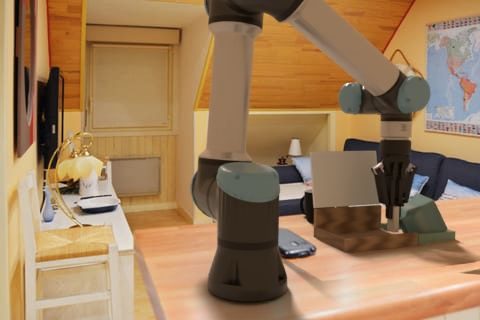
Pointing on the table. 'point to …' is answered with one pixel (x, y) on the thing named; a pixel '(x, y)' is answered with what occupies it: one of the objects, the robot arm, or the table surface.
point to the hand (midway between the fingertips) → (392, 231)
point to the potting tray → (430, 236)
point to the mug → (308, 205)
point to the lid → (343, 178)
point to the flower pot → (421, 216)
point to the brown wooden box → (356, 229)
